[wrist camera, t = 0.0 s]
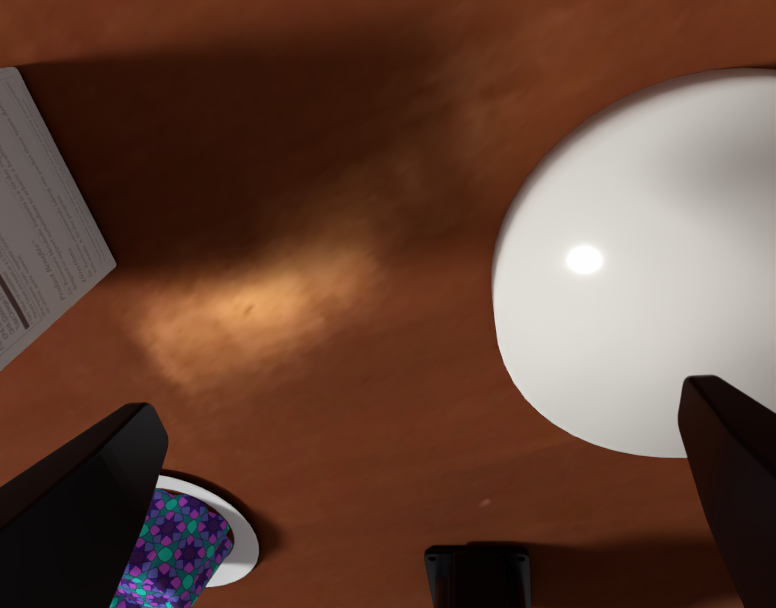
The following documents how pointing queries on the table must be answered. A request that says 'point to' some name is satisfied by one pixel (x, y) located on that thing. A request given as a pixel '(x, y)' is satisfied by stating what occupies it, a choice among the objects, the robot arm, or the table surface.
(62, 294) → the supplement box
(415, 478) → the table surface
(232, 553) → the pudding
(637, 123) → the plinth
